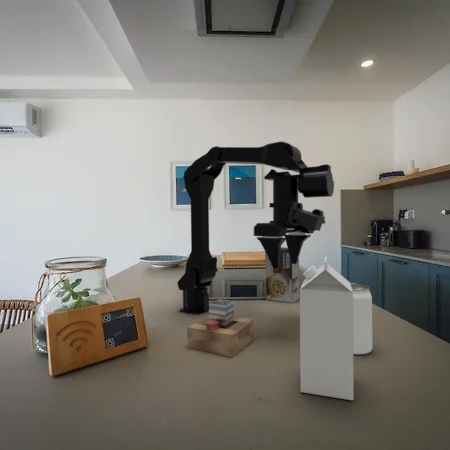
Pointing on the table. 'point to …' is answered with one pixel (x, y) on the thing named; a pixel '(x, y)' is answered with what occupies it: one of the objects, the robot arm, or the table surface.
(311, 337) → the milk carton
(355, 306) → the can
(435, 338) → the table surface
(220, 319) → the ratchet post
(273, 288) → the coffee box
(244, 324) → the tan stand block
